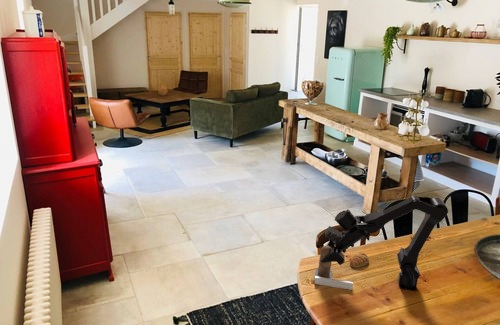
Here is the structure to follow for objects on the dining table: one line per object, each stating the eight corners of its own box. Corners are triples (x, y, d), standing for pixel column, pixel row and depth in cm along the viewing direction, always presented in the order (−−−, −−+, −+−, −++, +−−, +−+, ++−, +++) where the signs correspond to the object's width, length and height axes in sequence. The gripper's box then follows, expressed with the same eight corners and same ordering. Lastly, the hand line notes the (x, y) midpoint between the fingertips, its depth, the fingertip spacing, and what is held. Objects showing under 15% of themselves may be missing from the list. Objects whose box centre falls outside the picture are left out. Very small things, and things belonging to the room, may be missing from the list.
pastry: (358, 271, 174) (359, 263, 172) (345, 264, 178) (346, 257, 177) (370, 262, 180) (371, 255, 179) (356, 256, 185) (357, 249, 183)
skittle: (331, 273, 171) (335, 246, 166) (325, 279, 167) (329, 251, 162) (321, 269, 173) (325, 241, 169) (315, 274, 170) (319, 246, 165)
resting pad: (332, 271, 173) (332, 270, 173) (331, 281, 166) (331, 280, 166) (315, 269, 174) (315, 268, 174) (314, 278, 168) (314, 277, 168)
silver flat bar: (352, 288, 162) (353, 282, 161) (352, 289, 161) (352, 283, 160) (314, 282, 166) (315, 276, 165) (314, 283, 165) (315, 277, 164)
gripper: (337, 212, 170) (309, 232, 175) (338, 234, 152) (307, 256, 158) (354, 231, 171) (326, 250, 177) (357, 254, 154) (326, 275, 159)
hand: (321, 257), depth 168 cm, fingers open, 6 cm apart
